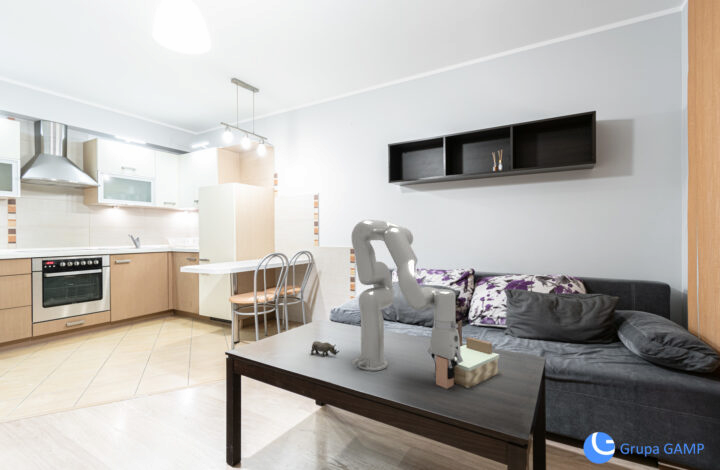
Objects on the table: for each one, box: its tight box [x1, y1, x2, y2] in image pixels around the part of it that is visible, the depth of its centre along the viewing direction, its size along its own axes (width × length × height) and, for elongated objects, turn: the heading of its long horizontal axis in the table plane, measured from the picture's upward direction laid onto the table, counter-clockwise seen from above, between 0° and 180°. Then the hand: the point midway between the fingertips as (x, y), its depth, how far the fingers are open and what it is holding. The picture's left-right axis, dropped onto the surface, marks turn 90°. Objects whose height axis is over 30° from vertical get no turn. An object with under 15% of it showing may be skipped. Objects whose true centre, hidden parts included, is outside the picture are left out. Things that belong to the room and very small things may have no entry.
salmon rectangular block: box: [435, 356, 455, 389], centre depth 116 cm, size 4×4×10 cm
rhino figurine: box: [310, 340, 340, 358], centre depth 146 cm, size 4×14×6 cm, turn 69°
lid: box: [455, 336, 500, 371], centre depth 125 cm, size 21×15×5 cm
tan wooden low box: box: [454, 358, 499, 389], centre depth 125 cm, size 20×14×6 cm
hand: (444, 375), depth 116 cm, fingers closed on salmon rectangular block, 4 cm apart
